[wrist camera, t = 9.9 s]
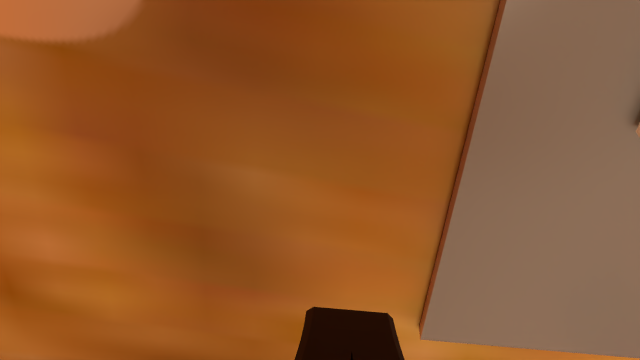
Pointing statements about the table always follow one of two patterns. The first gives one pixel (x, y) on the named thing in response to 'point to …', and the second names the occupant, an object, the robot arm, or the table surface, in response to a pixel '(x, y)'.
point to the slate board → (548, 188)
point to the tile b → (638, 130)
